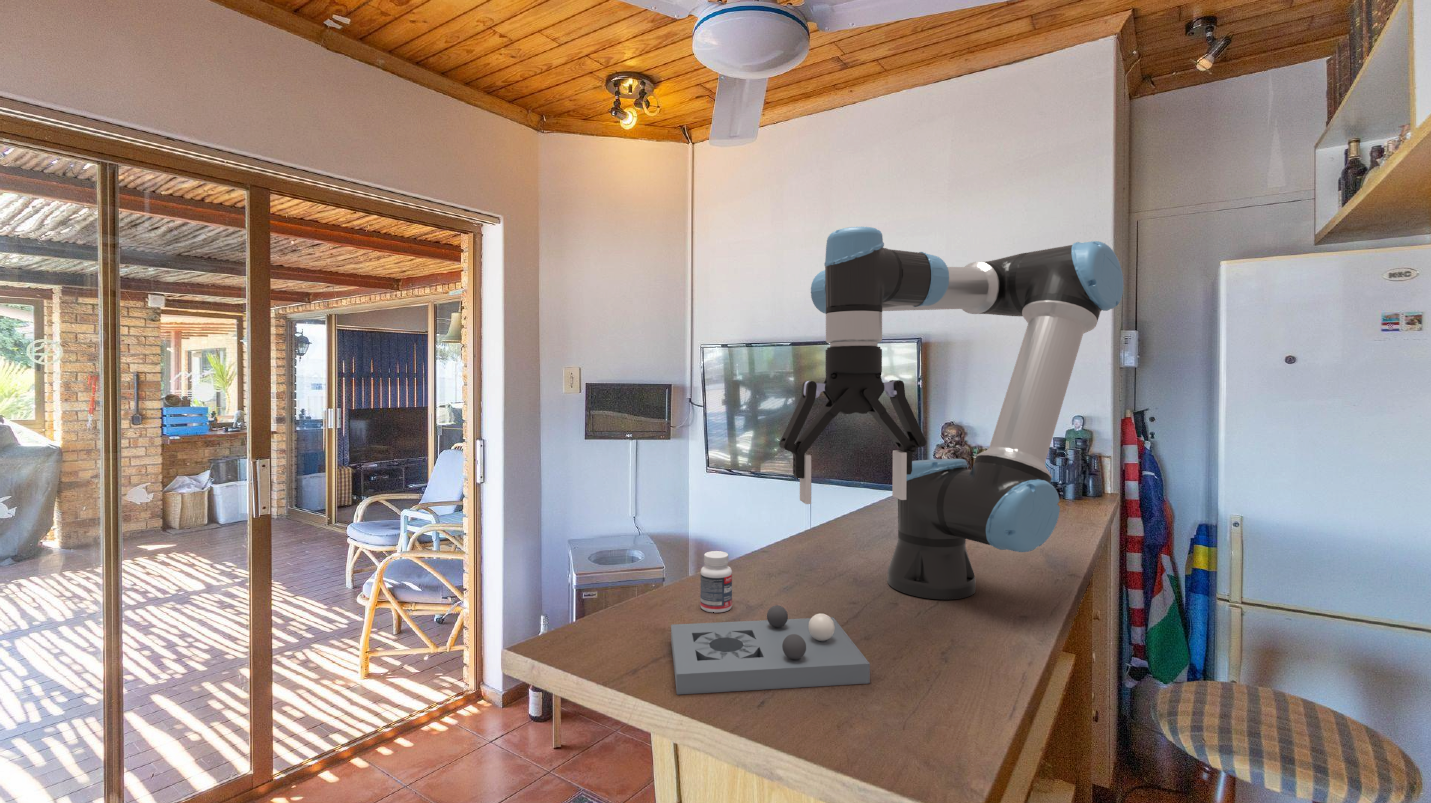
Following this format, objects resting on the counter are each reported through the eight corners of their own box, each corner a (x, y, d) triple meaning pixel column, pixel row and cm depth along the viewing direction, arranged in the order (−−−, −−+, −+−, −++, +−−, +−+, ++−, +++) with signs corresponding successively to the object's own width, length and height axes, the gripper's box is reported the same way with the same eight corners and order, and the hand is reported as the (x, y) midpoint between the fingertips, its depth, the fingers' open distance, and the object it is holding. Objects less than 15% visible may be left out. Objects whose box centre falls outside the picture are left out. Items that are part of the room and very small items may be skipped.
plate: (833, 633, 93) (833, 617, 93) (869, 683, 78) (869, 663, 78) (671, 641, 90) (671, 624, 90) (676, 694, 75) (676, 674, 75)
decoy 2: (802, 652, 81) (802, 629, 81) (808, 663, 78) (809, 639, 78) (779, 653, 81) (780, 630, 80) (785, 664, 78) (785, 640, 77)
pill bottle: (728, 614, 100) (728, 560, 100) (697, 612, 101) (697, 558, 101) (734, 602, 105) (734, 550, 105) (704, 600, 106) (704, 549, 106)
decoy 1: (785, 622, 91) (785, 601, 91) (790, 630, 88) (790, 609, 88) (764, 623, 90) (765, 602, 90) (769, 631, 87) (769, 610, 87)
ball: (830, 633, 87) (830, 609, 87) (837, 644, 83) (838, 618, 83) (805, 635, 86) (805, 610, 86) (812, 646, 83) (812, 620, 83)
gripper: (925, 346, 91) (923, 491, 92) (757, 346, 87) (758, 498, 88) (953, 344, 83) (951, 501, 84) (771, 343, 79) (771, 509, 80)
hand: (852, 500), depth 86 cm, fingers open, 13 cm apart
